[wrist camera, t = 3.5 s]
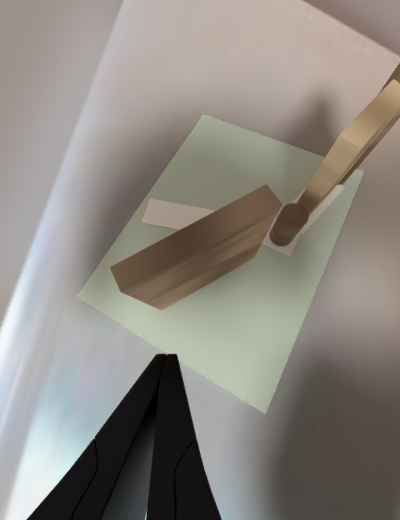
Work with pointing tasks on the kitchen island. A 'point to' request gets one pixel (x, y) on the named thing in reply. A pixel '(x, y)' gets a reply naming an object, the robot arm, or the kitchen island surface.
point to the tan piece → (342, 159)
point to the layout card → (240, 279)
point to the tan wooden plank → (198, 251)
